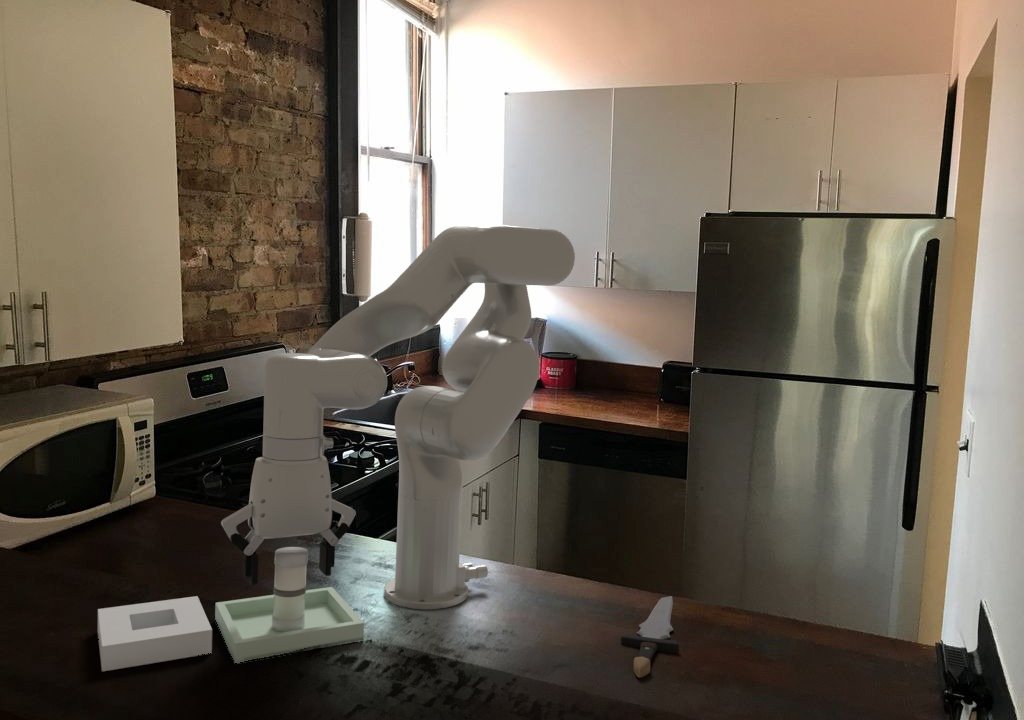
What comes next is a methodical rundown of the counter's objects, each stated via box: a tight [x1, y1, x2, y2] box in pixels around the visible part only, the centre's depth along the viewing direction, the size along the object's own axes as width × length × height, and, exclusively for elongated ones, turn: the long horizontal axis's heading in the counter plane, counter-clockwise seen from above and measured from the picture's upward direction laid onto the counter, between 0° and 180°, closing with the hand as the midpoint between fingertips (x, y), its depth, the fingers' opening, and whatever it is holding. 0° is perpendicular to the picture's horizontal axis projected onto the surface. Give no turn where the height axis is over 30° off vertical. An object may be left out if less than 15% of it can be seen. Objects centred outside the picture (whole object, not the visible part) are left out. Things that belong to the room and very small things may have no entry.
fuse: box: [272, 546, 309, 632], centre depth 105 cm, size 4×4×10 cm
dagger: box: [620, 595, 680, 678], centre depth 112 cm, size 8×32×2 cm, turn 170°
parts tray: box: [214, 586, 365, 664], centre depth 106 cm, size 16×14×2 cm
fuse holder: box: [97, 595, 213, 672], centre depth 100 cm, size 12×12×3 cm
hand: (289, 577), depth 105 cm, fingers open, 9 cm apart
